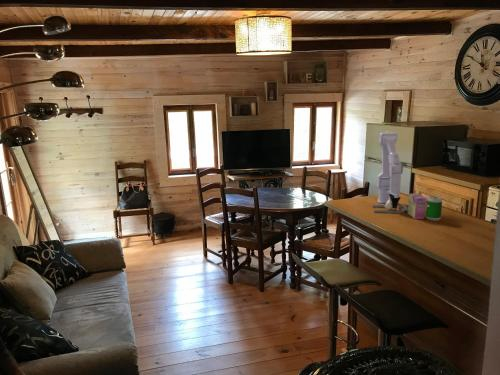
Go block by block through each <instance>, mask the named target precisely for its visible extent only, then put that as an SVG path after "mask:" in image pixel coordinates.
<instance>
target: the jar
mask: <svg viewBox="0 0 500 375" xmlns="http://www.w3.org/2000/svg"><path fill="white" fill-rule="evenodd" d="M384 205H385V206H384V207H386V208H385V209H387V210H388V211H393V210H392V209H394V208H393V207H392V201H391V198H389V200H388V201H387V203H384Z"/></svg>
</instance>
